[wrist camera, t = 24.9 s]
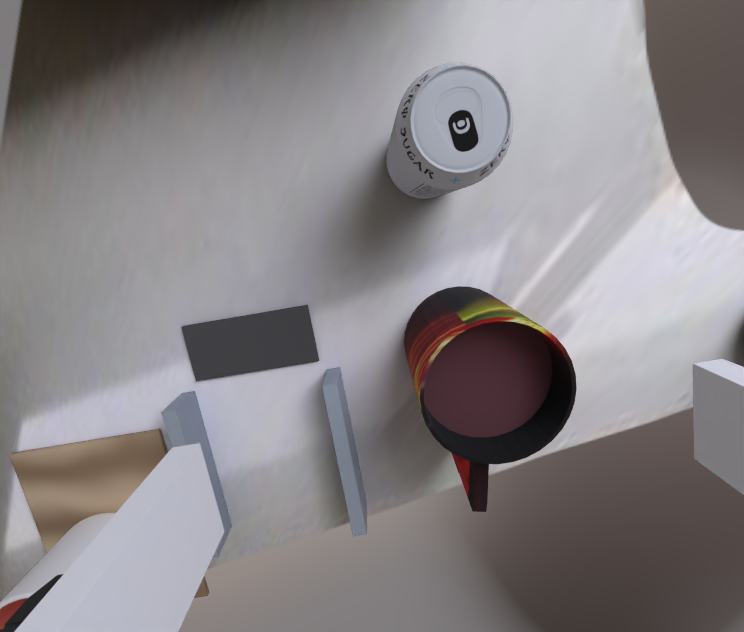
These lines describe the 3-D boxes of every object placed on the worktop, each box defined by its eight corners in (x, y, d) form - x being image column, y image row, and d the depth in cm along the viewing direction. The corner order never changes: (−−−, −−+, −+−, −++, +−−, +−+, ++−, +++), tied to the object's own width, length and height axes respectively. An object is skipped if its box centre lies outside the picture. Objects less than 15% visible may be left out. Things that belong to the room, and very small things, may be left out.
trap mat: (183, 326, 38) (181, 326, 38) (307, 304, 38) (307, 305, 38) (197, 379, 40) (196, 381, 39) (318, 359, 39) (318, 360, 39)
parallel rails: (181, 393, 40) (161, 412, 36) (339, 367, 39) (336, 383, 35) (219, 527, 43) (204, 558, 39) (366, 504, 42) (366, 534, 38)
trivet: (12, 452, 41) (9, 454, 41) (160, 428, 40) (158, 430, 40) (73, 612, 45) (71, 616, 44) (209, 592, 44) (207, 595, 44)
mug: (450, 447, 41) (482, 538, 29) (385, 316, 38) (392, 359, 27) (547, 404, 40) (620, 480, 29) (488, 267, 38) (542, 289, 26)
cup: (90, 603, 44) (11, 713, 34) (53, 517, 42) (-43, 608, 32) (187, 584, 44) (134, 690, 34) (154, 496, 42) (88, 582, 32)
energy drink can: (448, 109, 35) (505, 30, 20) (469, 184, 36) (538, 161, 21) (375, 135, 35) (380, 76, 21) (399, 209, 36) (419, 203, 22)
